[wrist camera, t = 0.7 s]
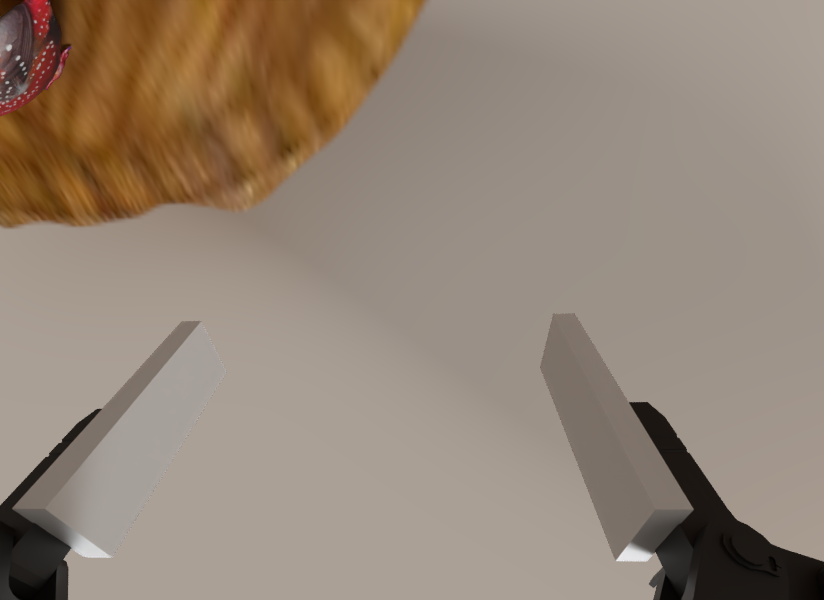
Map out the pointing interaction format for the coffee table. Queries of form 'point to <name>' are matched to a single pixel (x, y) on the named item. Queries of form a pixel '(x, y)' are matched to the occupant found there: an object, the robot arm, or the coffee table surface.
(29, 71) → the decorative bird figurine
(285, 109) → the coffee table surface
